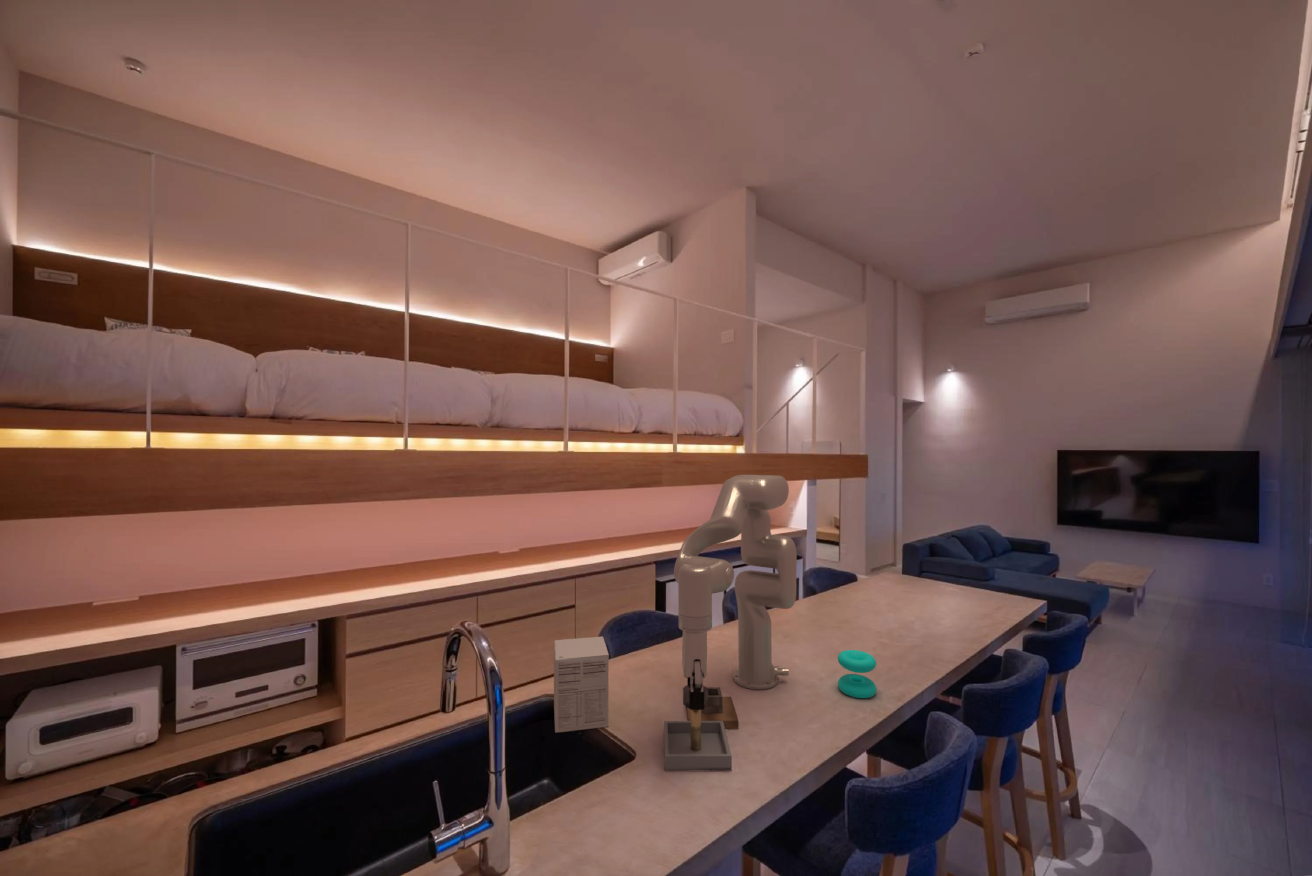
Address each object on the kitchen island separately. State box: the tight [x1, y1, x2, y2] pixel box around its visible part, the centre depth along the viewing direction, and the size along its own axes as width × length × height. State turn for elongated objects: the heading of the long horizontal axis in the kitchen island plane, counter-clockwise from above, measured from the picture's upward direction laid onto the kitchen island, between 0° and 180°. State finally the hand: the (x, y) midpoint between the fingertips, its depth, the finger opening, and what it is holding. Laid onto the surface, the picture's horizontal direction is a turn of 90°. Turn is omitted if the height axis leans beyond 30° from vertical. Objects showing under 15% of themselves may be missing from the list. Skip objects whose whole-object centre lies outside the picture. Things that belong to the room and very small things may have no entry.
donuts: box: [837, 649, 877, 699], centre depth 143 cm, size 10×10×10 cm
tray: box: [663, 720, 733, 772], centre depth 115 cm, size 14×14×3 cm
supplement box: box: [553, 636, 610, 733], centre depth 130 cm, size 13×13×18 cm
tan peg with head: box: [682, 684, 708, 751], centre depth 115 cm, size 6×6×13 cm
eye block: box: [685, 686, 740, 730], centre depth 130 cm, size 12×12×6 cm
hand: (695, 700), depth 115 cm, fingers open, 6 cm apart
